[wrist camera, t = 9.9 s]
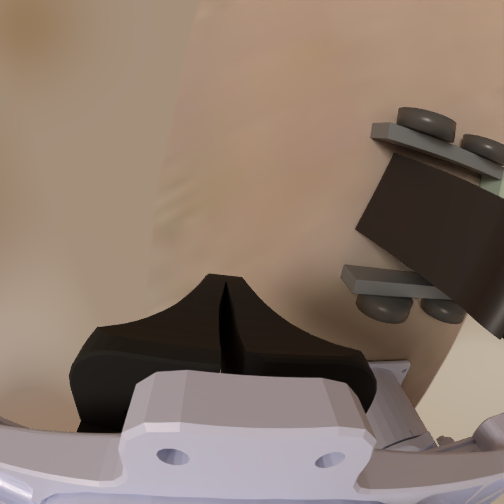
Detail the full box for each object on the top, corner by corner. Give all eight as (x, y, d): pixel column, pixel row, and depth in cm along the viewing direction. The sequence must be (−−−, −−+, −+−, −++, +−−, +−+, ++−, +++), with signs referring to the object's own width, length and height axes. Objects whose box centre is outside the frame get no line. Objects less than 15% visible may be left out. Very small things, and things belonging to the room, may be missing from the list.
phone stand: (469, 211, 21) (580, 267, 10) (435, 274, 23) (530, 357, 12) (392, 151, 19) (527, 180, 8) (353, 227, 21) (457, 317, 10)
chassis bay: (453, 301, 24) (478, 323, 20) (336, 293, 23) (354, 322, 19) (493, 151, 20) (526, 157, 16) (375, 105, 18) (404, 100, 15)
